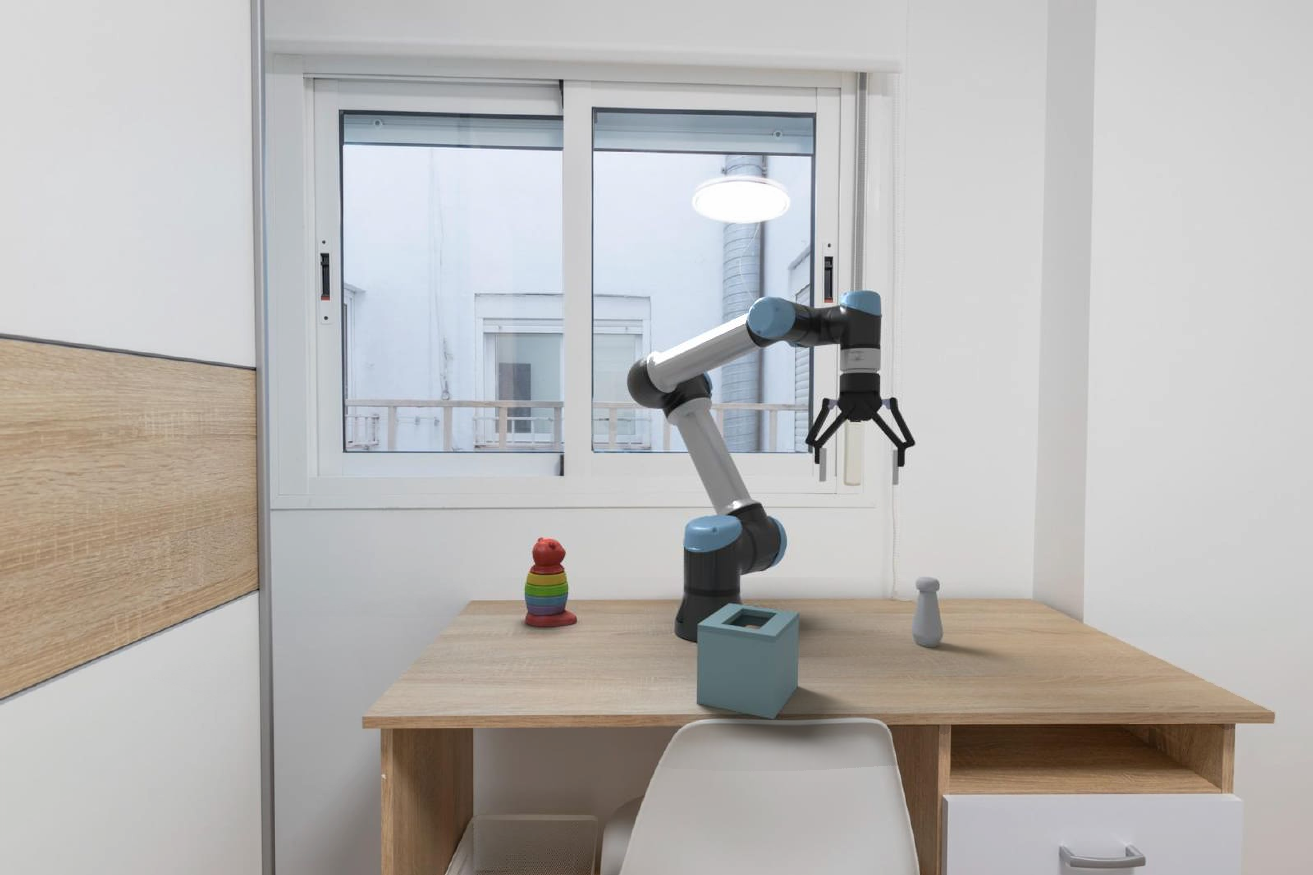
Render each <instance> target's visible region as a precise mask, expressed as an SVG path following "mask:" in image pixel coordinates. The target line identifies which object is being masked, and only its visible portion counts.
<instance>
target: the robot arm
mask: <svg viewBox="0 0 1313 875" xmlns="http://www.w3.org/2000/svg"><path fill="white" fill-rule="evenodd" d="M881 299H882V298H881V295H880V294H879V293H878V292H877V291H873V290H867V289H866V290H852V291H851V290H850V291H848V292H844V293H843V294H841V297H840V301H839V302H840V303H839V304H838V305H834V306H827V307H821V308H820V307H817V308H816V307H812V306H809V305H805V304H801V303H797V302H794V301H791V300H787V299H785V298H782V297H776V296H763V297H760V298H758V299H757V300H756V301H755V302H754V303H753V305H752V306H751V307H750V308H749V311H748V312H747V313H746V314H742V315H741V316H739V317H737V318H734V319H732V320H730V321H728V322H726V323H724V324H721V325H719V326H718V327H715V328H714V329H711V330H709V331H707V332H704V333H701V335H698V336H695V337H694V338H692V339H690V340H688V341H685V342H683V343H681V344H679V345H677V346H674V347H673V348H670V349H668V350H666V351H661V350H657V351H653V352H651V353H650V354H649V353H648V354H647V355H645V356H643V357H641V358H640V359H638V360H637V361H635V362H634V364H632V366H631V367H630V369H629V370H628V373H627V377H626V384H627V385H626V387H627V390H628V393H629V395H630V397H631V398H632V399H633V400H634V401H635V402H636V404H638V405H640V406H641V407H645V408H648V409H657V410H658V409H659V410H662V412H663V414H664V416H665V418H666V420H667V422H668V424H670V425H672V426H675V427H677V430H678V432H679V434H680V436H681V438H682V440H683V443H684V445H685V447H686V450H687V452H688V453H689V456H690V458H691V460H692V463H693V465H694V467H695V468H696V472H697V474H698V476H699V478H700V481H701V482H702V485H703V487H704V489H705V491H706V494H707V495H708V499H709V500H710V502H711V505H712V506H713V509H714V511H715V513H716V514H714V515H710V516H709V515H706V516H701V517H696V518H694V519H692V520H690V521H689V522H688V523H686V526H685V528H684V537H683V543H682V544H683V594H682V598H681V600H680V604H679V606H678V609H677V612H676V616H675V619H674V634H676V635H677V636H679V637H680V638H682V639H684V640H688V641H691V642H696V643H697V635H698V624H699V623H701V622H702V621H703V620H705V619H706V618H708V617H709V616H711V615H712V614H714V613H715V612H717V611H718V610H720V609H721V608H723V607H724V606H726V605H727V604H729V603H731V604H739V605H744V604H743V600H742V598H741V576H744V575H748V574H753V573H756V572H764V571H766V570H768V569H770V568H772V567H776V565H778V564H779V563H780V562H781V561H782V559H783V558H784V556H785V555H786V550H787V546H788V538H787V537H788V536H787V533H786V529H785V528H784V526H783V524H782V523H781V522H780V521H779V520H778V519H777V518H774V517H772V516H771V515H767V512H766V510H765V508H764V507H763V505H762V503H761V502H760V501H758V500H755V499H753V498H752V497H751V496H750V493H749V491H748V489H747V486H746V484H745V483H744V480H743V478H742V476H741V473H740V471H739V470H738V468H737V465H736V463H735V461H734V460H733V457H732V454H731V453H730V451H729V448H728V447H727V445H726V443H725V440H724V438H723V436H722V434H721V432H720V430H719V428H718V426H717V424H716V421H715V420H714V418H713V416H712V413H711V412H710V410H711V408H712V406H713V400H712V396H713V393H712V390H713V389H714V388H713V383H712V379H711V376H710V374H708V372H709V371H712V370H714V369H716V368H717V369H718V368H719V367H722V366H724V365H726V364H728V363H731V362H733V361H736V360H739V359H742V358H743V357H745V356H748V355H750V354H752V353H754V352H757V351H759V350H762V349H763V348H767V347H769V346H772V345H774V344H776V343H779V342H786V343H787V344H788V345H789V346H790V347H791V348H797V349H798V348H804V349H808V348H812V347H821V346H830V345H839V350H840V351H839V371H840V372H842V373H841V374H840V375H839V393H838V394H839V395H838V398H837V399H833V398H828V397H824V398H823V399H822V401H821V409H820V411H819V413H818V415H817V416H816V419H815V421H814V422H813V425H812V427H811V429H810V430H809V433H808V434H807V436H806V438H805V441H804V444H806V445H808V446H811V447H813V448H814V457H813V458H814V460H813V462H814V464H815V465H819V469H818V470H819V473H818V474H819V477H818V479H819V480H818V481H819V482H820V483H821V482H827V448H826V447H824V445H825V444H826V443H827V442H828V440H830V439H831V437H832V436H833V435H834V434H835V433H836V431H838V429H839V428H840V427H841V426H842V425H843V424H844V423H845V422H846V421H847V420H848V421H850V422H858V421H862V422H869V421H870V420H872V421H873V422H874V423H875V425H877V426H878V428H880V430H881V431H882V432H883V433H884V435H886V437H887V438H888V439H889V440H890V441H891V442H892V444H893V445H894V446H895V447H896V448H897V449H893V450H892V483H891V484H892V485H893V486H898V485H899V475H900V474H899V468H903V467H905V464H906V463H905V462H906V461H905V460H906V450H907V449H908V448H911V447H914V446H915V445H916V441H915V439H914V437H913V435H912V433H911V430H910V429H909V427H908V425H907V423H906V421H905V419H904V417H903V414H902V413H901V411H900V409H899V401H898V399H897V397H894V396H891V397H890V398H883V399H882V397H881V375H880V374H879V373H878V372H879V371H880V370H881V368H882V366H881V365H882V364H881V362H882V361H881V358H882V350H881V349H882V348H881V347H882V346H881V336H882V318H883V314H882V300H881ZM835 406H837V408H838V409H839V410H840V411H841V412H840V413H839V414H838V415H837V416H836V418H835V420H833V422H832V423H830V425H829V426H828V427H827V428H826V430H824V432H822V434H821V435H820V437H818V435H819V434H820V431H821V430H822V428H823V426H824V423H825V421H826V419H827V418H828V416H829V414H830V411H831V410H834V408H835ZM883 406H885V408H886V409H887V410H890V413H891V414H892V416H893V419H894V420H895V423H896V424H897V425H896V426H898V429H899V430H900V433H901V434H902V437H903V438H904V440H905V441H903V440H901V438H899V436H898V435H897V434H896V432H894V430H893V429H892V428H891V426H889V425H888V423H886V421H885V420H884V419H883V417H882V416H881V415H880V414H879V413H878V411H880V410H881V408H882V407H883ZM817 437H818V438H817Z"/></svg>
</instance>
